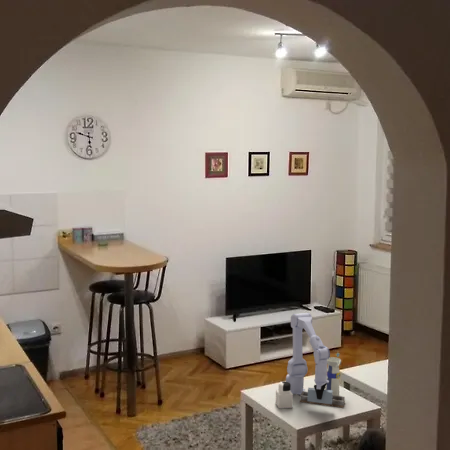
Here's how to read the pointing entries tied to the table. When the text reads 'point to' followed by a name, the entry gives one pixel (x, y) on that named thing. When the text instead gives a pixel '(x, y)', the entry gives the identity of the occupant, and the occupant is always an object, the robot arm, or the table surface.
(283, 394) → the medicine bottle
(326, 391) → the grey-blue rectangular block
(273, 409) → the table surface
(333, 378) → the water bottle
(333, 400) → the track board
